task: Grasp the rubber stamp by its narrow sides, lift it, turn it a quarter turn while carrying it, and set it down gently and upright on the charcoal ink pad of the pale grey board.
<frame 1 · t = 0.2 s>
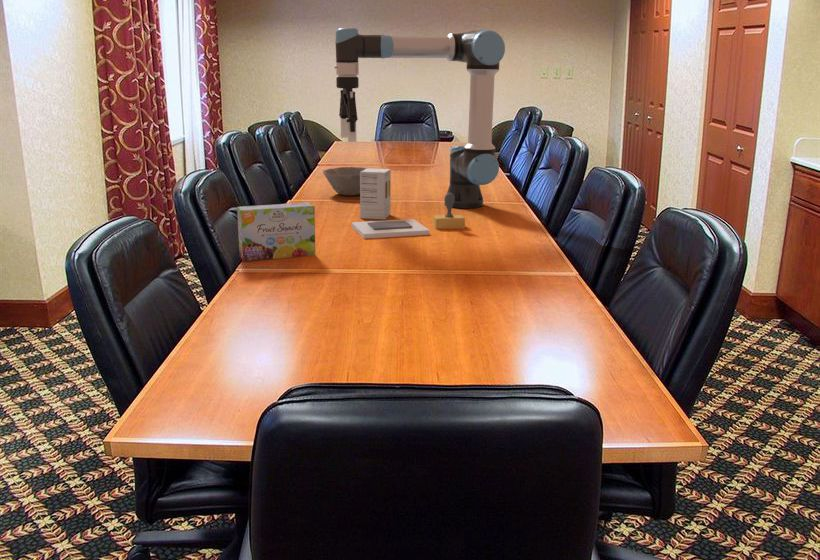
hand: (348, 139, 260), 28 cm above the table, tool pointing down, fingers open, 13 cm apart
rubber stamp: (449, 228, 256), on the table
ceramic bowl: (350, 195, 314), on the table
supplement box: (375, 217, 272), on the table
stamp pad: (389, 230, 250), on the table
snack box: (278, 257, 217), on the table
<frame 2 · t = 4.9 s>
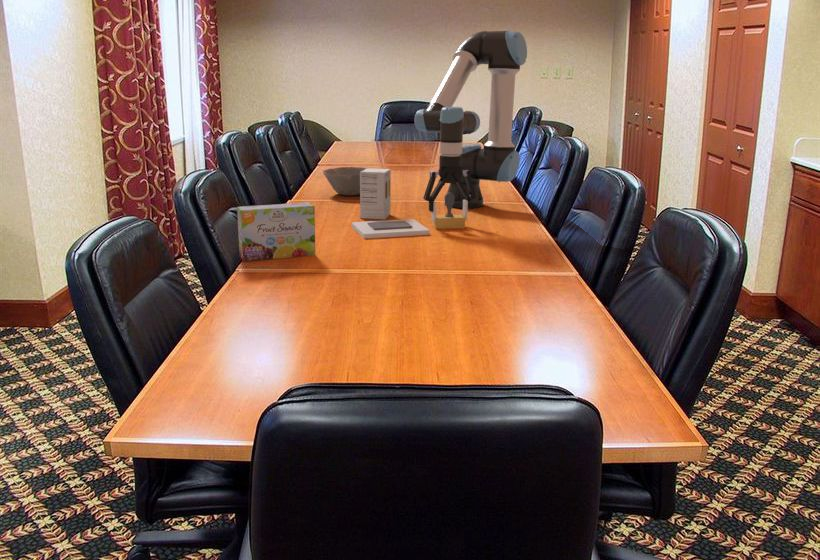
hand: (449, 220, 255), 2 cm above the table, tool pointing down, fingers closed on rubber stamp, 11 cm apart
rubber stamp: (449, 227, 256), on the table, touching gripper
everything else where it was.
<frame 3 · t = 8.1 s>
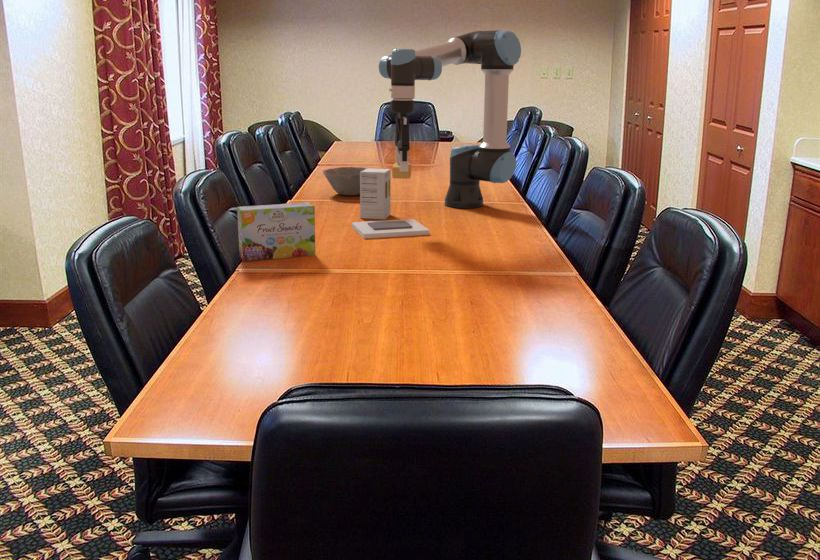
hand: (401, 168, 245), 20 cm above the table, tool pointing down, fingers closed on rubber stamp, 11 cm apart
rubber stamp: (401, 177, 246), point 18 cm above the table, touching gripper
everything else where it was.
when the fingers open (6 cm above the table, at t = 11.4 s): rubber stamp drops 1 cm, resting on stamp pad.
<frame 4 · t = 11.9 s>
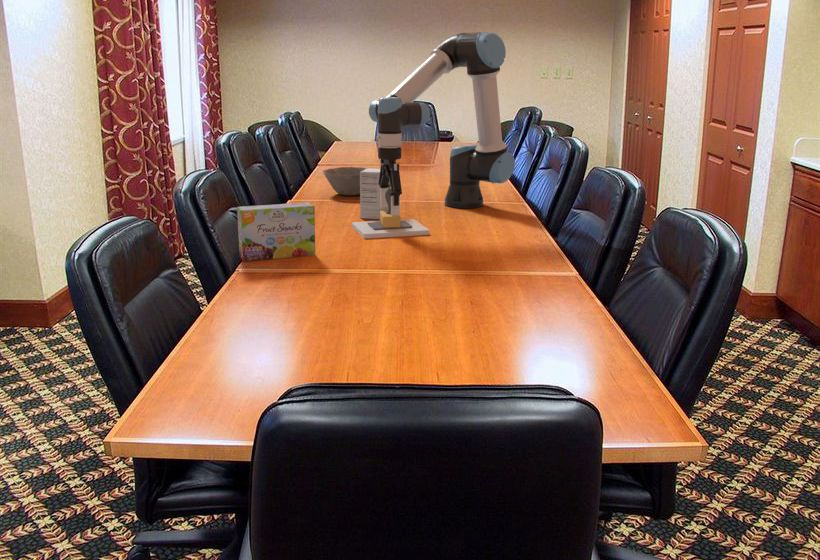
hand: (389, 211, 248), 7 cm above the table, tool pointing down, fingers open, 13 cm apart
rubber stamp: (390, 224, 250), point 2 cm above the table, touching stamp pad
everything else where it was.
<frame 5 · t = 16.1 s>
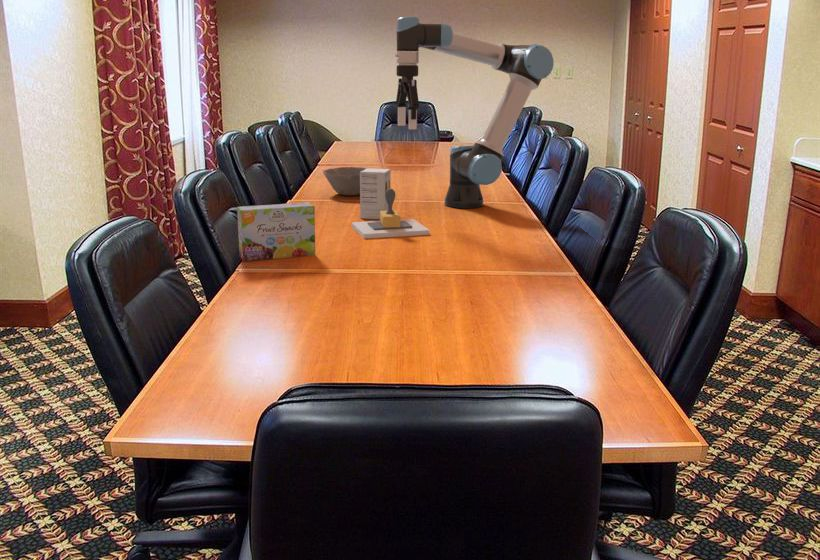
hand: (407, 127, 264), 32 cm above the table, tool pointing down, fingers open, 13 cm apart
nothing on the table moved.
at the end: rubber stamp inside the target area on the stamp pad (0.1 cm from its centre), point 1.9 cm above the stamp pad's base; rubber stamp tilted 0°; the gripper is holding nothing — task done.
